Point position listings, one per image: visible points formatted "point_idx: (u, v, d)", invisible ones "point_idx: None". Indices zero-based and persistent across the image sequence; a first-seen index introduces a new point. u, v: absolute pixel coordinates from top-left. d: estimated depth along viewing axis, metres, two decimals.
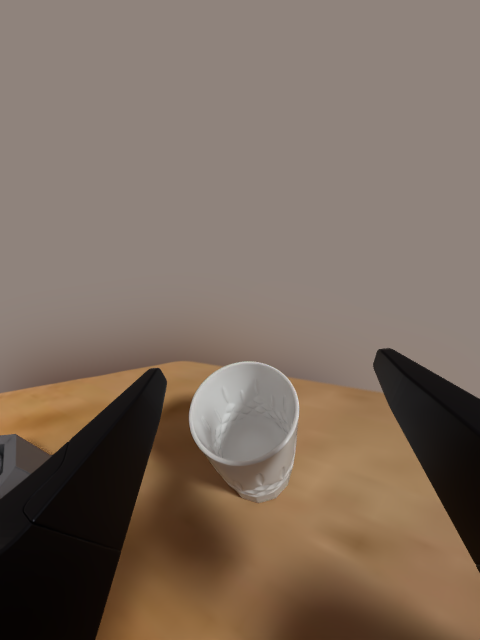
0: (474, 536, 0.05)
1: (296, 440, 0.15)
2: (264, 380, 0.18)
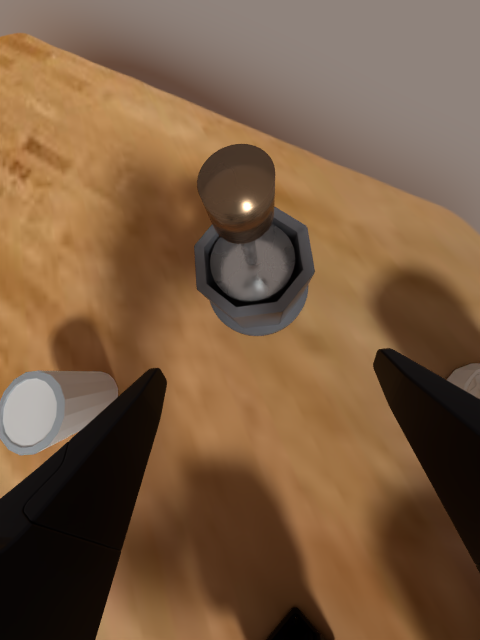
0: (473, 535, 0.05)
1: None
2: None
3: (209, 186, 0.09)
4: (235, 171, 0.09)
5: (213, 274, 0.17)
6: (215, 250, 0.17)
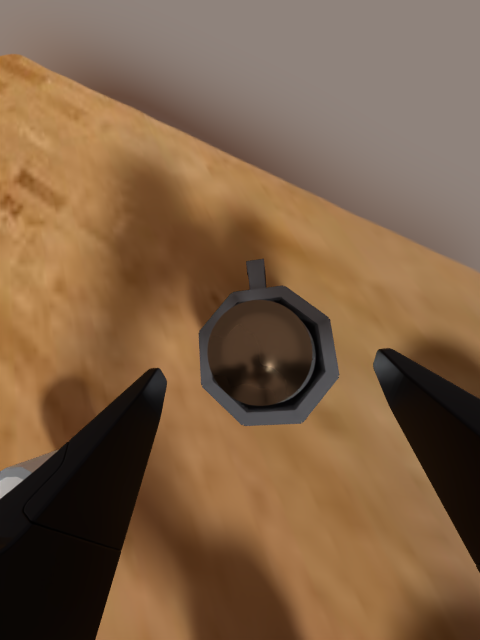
0: (474, 535, 0.05)
1: None
2: None
3: (223, 359, 0.07)
4: (258, 341, 0.07)
5: None
6: None
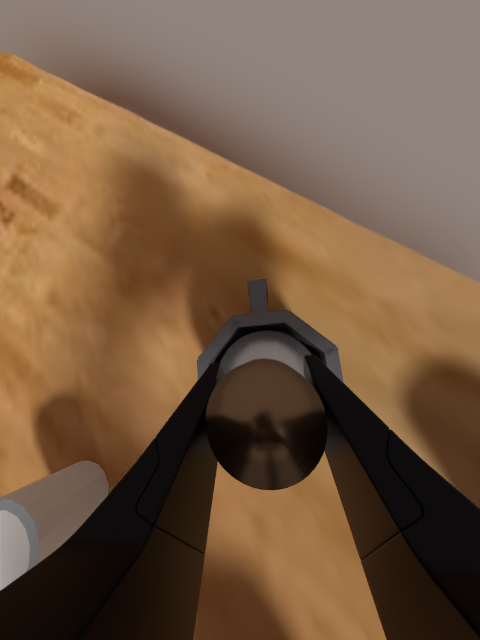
0: (360, 533, 0.05)
1: None
2: None
3: (224, 430, 0.06)
4: (263, 410, 0.06)
5: None
6: (223, 366, 0.14)
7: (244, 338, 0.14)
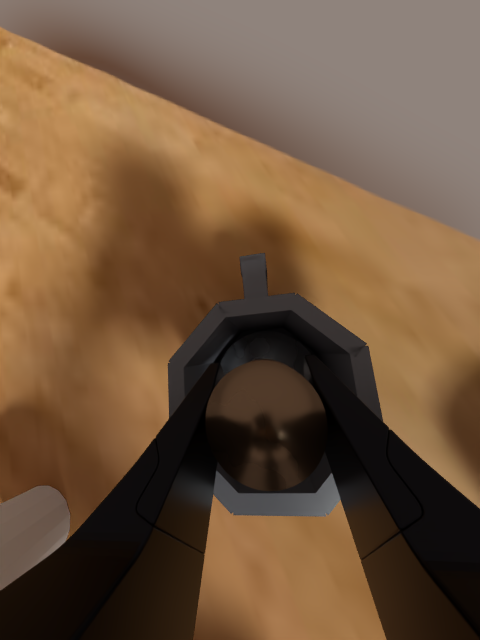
0: (360, 533, 0.05)
1: None
2: None
3: (224, 431, 0.06)
4: (264, 411, 0.06)
5: None
6: (222, 366, 0.14)
7: (244, 339, 0.14)
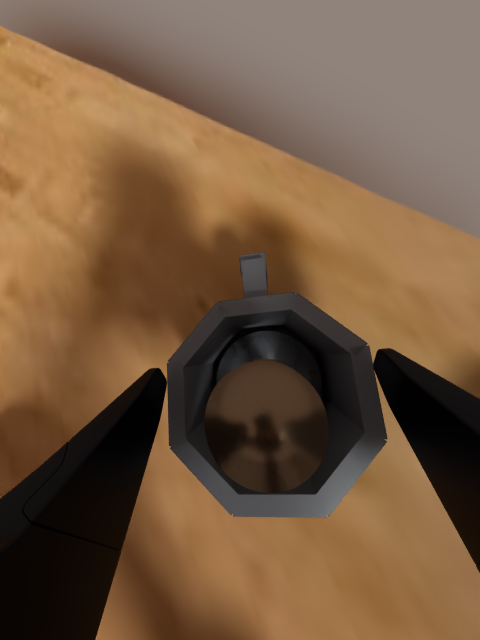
0: (474, 535, 0.05)
1: None
2: None
3: (223, 432, 0.06)
4: (264, 412, 0.06)
5: None
6: (222, 366, 0.14)
7: (243, 338, 0.14)
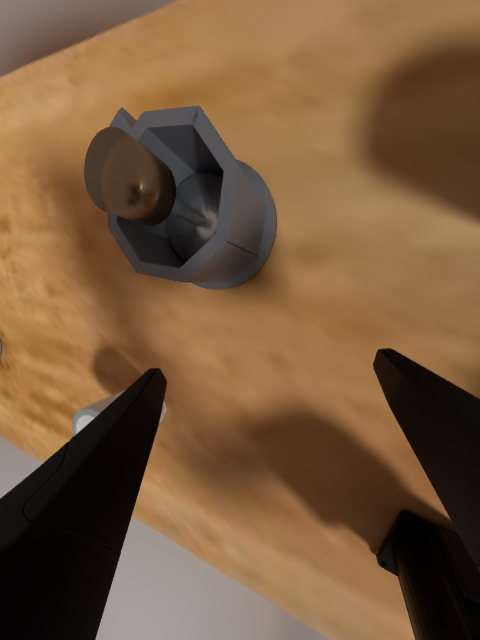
0: (474, 536, 0.05)
1: None
2: None
3: (99, 194, 0.10)
4: (107, 165, 0.09)
5: (179, 254, 0.17)
6: (169, 232, 0.17)
7: None
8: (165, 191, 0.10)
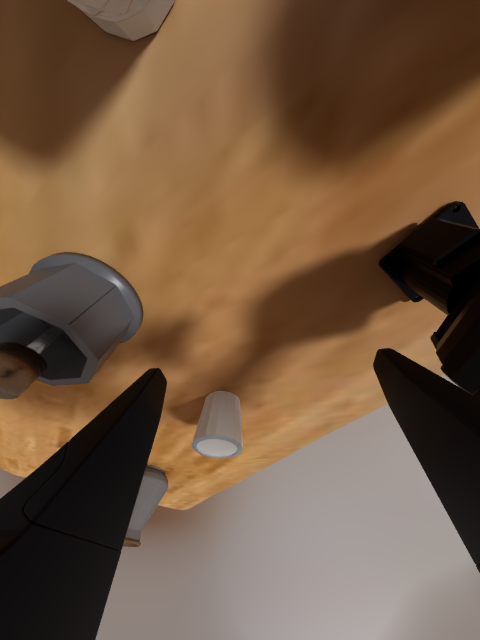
0: (474, 536, 0.05)
1: None
2: None
3: (6, 394, 0.14)
4: None
5: None
6: None
7: None
8: (16, 353, 0.14)
